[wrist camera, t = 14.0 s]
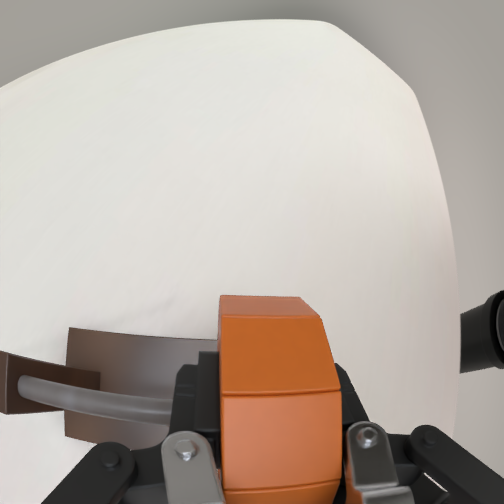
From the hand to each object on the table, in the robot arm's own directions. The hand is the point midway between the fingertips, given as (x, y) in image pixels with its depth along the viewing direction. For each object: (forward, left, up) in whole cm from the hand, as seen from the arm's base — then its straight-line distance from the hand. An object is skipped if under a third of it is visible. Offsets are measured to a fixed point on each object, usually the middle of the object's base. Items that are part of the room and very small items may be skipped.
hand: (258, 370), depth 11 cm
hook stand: (0, +5, -15) cm, 16 cm away
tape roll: (-2, +1, -6) cm, 6 cm away
